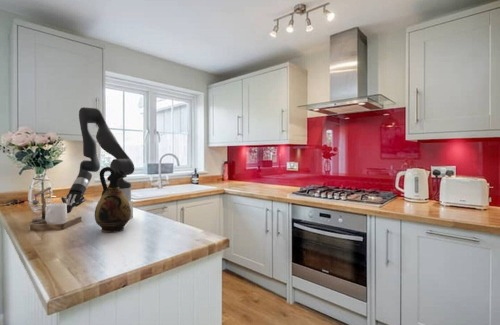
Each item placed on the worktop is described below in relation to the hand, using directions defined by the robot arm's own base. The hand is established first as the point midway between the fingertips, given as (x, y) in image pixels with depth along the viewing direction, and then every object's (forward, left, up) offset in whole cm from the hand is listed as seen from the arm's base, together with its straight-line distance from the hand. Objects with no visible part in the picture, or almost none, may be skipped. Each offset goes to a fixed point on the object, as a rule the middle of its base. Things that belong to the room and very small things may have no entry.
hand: (66, 212), depth 141 cm
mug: (0, +9, -5) cm, 10 cm away
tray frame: (-1, +9, -4) cm, 10 cm away
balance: (+14, -3, -4) cm, 15 cm away
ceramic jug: (-32, +18, -5) cm, 37 cm away
